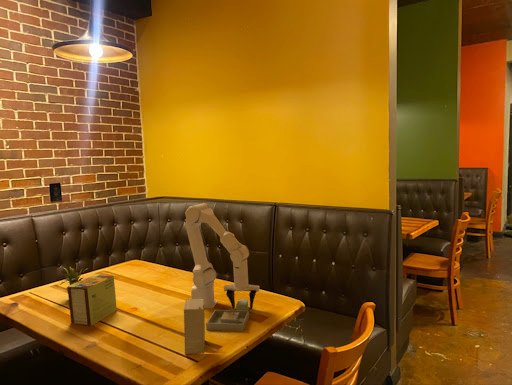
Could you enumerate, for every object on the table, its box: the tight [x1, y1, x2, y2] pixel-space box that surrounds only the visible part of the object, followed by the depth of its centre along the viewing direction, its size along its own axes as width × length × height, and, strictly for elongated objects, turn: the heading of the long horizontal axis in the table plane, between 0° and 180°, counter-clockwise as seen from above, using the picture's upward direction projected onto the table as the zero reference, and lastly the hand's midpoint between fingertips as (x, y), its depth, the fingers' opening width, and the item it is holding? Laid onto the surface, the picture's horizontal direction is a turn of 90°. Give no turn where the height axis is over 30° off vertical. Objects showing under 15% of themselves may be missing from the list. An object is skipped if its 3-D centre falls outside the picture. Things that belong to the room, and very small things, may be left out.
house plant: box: [59, 266, 89, 293], centre depth 175 cm, size 14×14×16 cm
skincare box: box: [183, 298, 206, 355], centre depth 126 cm, size 8×7×16 cm
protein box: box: [66, 273, 118, 327], centre depth 155 cm, size 10×15×16 cm
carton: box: [235, 298, 249, 311], centre depth 154 cm, size 4×6×4 cm, turn 173°
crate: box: [205, 309, 251, 332], centre depth 143 cm, size 14×12×3 cm
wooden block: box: [221, 312, 240, 324], centre depth 142 cm, size 6×6×4 cm
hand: (242, 307), depth 154 cm, fingers open, 7 cm apart
